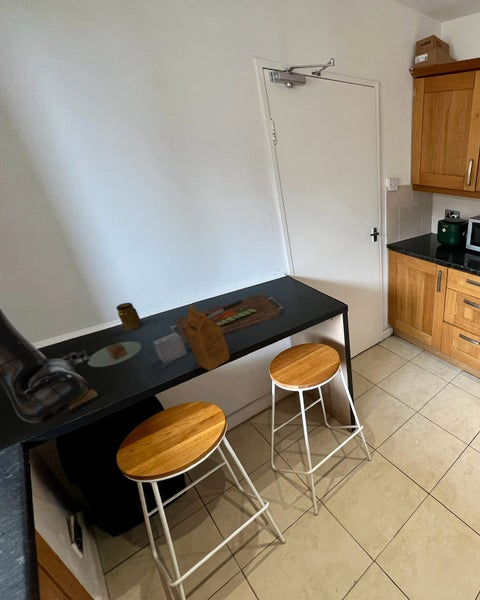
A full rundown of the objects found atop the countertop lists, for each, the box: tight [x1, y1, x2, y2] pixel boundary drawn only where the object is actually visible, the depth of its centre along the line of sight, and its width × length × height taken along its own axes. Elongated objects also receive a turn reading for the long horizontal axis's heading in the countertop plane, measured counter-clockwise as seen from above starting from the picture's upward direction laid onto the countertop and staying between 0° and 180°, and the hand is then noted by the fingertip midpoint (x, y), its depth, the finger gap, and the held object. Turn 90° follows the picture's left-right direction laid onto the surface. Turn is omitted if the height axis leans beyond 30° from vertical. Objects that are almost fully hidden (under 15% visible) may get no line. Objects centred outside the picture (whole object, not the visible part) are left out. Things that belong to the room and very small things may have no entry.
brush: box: [66, 388, 101, 414], centre depth 95 cm, size 7×3×14 cm, turn 151°
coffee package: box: [187, 305, 231, 371], centre depth 113 cm, size 10×12×22 cm
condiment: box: [116, 302, 144, 332], centre depth 135 cm, size 7×8×12 cm
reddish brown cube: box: [105, 342, 127, 360], centre depth 118 cm, size 4×4×4 cm
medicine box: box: [151, 332, 188, 365], centre depth 117 cm, size 8×4×9 cm, turn 145°
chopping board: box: [169, 294, 285, 345], centre depth 145 cm, size 45×27×3 cm, turn 130°
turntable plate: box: [87, 341, 142, 368], centre depth 120 cm, size 16×16×1 cm
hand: (52, 363), depth 86 cm, fingers open, 8 cm apart
